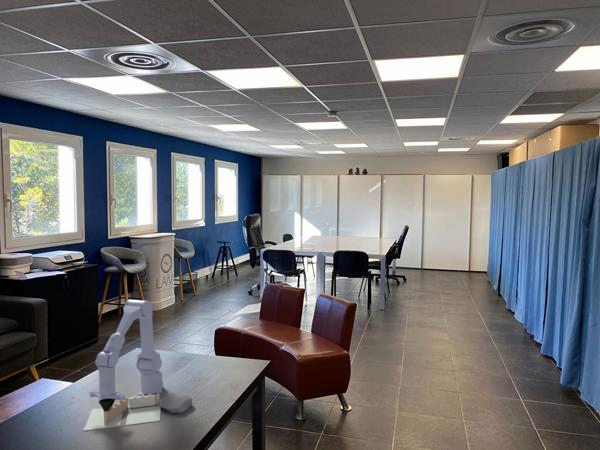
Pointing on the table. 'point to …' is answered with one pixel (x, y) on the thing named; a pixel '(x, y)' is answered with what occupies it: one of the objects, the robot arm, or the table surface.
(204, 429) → the table surface
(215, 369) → the table surface
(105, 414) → the fence panel
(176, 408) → the stone block
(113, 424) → the card
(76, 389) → the table surface
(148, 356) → the robot arm
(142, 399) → the fence fixed
